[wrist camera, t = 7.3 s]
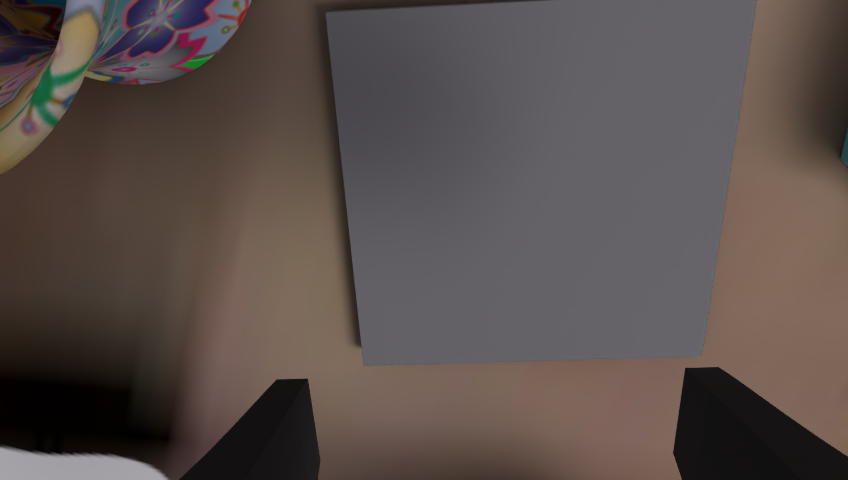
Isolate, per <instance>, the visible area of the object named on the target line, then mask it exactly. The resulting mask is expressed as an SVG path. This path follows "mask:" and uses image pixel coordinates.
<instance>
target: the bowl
mask: <svg viewBox="0 0 848 480" xmlns="http://www.w3.org/2000/svg"><path fill="white" fill-rule="evenodd" d="M840 160H841V161H842V162H843V163H844V164H845V165H846V166H847V167H848V128H847V132H846V137H845V141H844V146H843V150H842V154H841V159H840Z"/></svg>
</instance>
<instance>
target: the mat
mask: <svg viewBox="0 0 848 480" xmlns="http://www.w3.org/2000/svg"><path fill="white" fill-rule="evenodd" d="M756 3H757V0H516V1H497V2H479V3H460V4H441V5H423V6H404V7H385V8H366V9H348V10H331V11H328V12H325V14H326V23H327V33H328V42H329V51H330V60H331V69H332V79H333V88H334V97H335V106H336V116H337V125H338V134H339V143H340V152H341V162H342V171H343V180H344V189H345V199H346V208H347V217H348V226H349V236H350V245H351V254H352V263H353V272H354V282H355V291H356V300H357V309H358V319H359V328H360V337H361V346H362V356H363V365H364V366H381V365H416V364H451V363H486V362H520V361H555V360H590V359H624V358H659V357H694V356H702V352H703V346H704V339H705V333H706V327H707V320H708V314H709V307H710V301H711V294H712V288H713V281H714V275H715V268H716V262H717V255H718V249H719V243H720V236H721V230H722V223H723V217H724V210H725V204H726V197H727V191H728V184H729V178H730V171H731V165H732V159H733V152H734V146H735V139H736V133H737V126H738V120H739V113H740V107H741V100H742V94H743V87H744V81H745V74H746V68H747V62H748V55H749V49H750V42H751V36H752V29H753V23H754V16H755V10H756Z"/></svg>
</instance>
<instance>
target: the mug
mask: <svg viewBox="0 0 848 480" xmlns="http://www.w3.org/2000/svg"><path fill="white" fill-rule="evenodd" d="M251 1H252V0H0V175H2V174H3V173H5V172H6V171H8V170H10V169H11V168H13V167H14V166H16V165H17V164H18V163H19V162H20V161H22V160H23V159H24V158H25V157H26V156H28V155H29V154H30V153H31V152H32V151H34V150H35V149H36V147H37V146H38V145H39V144H40V143H41V142H42V141H43V140H44V139H45V138H46V137H47V136H48V135H49V134H50V132H51V131H52V130H53V129H54V127H55V126H56V124H57V123H58V122H59V120H60V119H61V117H62V116H63V115H64V113H65V112H66V111H67V109H68V108H69V106H70V104H71V102H72V101H73V99H74V97H75V95H76V93H77V91H78V90H79V88H80V86H81V84H82V82H83V79H84V77H85V76H86V77H89V78H93V79H96V80H100V81H106V82H111V83H117V84H129V85H136V84H151V83H159V82H163V81H167V80H171V79H174V78H177V77H180V76H183V75H185V74H187V73H189V72H191V71H193V70H195V69H197V68H198V67H200V66H202V65H203V64H205V63H206V62H208V61H209V60H210V59H211V58H213V57H214V56H215V55H216V54H217V53H218V52H219V51H220V50H221V49H222V48H223V47H224V46H225V45H226V44H227V43H228V42H229V40H230V39H231V38H232V37H233V35H234V34H235V33H236V31H237V29H238V28H239V26H240V25H241V23H242V21H243V19H244V17H245V15H246V13H247V11H248V9H249V7H250V4H251Z"/></svg>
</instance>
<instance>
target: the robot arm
mask: <svg viewBox="0 0 848 480" xmlns="http://www.w3.org/2000/svg"><path fill="white" fill-rule="evenodd" d="M673 454H674V457H675V460H676V463H677V466H678V469H679V472H680V475H681V478H682V480H848V457H847V456H846V455H844V454H843V453H841V452H840V451H838V450H837V449H835V448H834V447H832V446H831V445H829V444H828V443H826V442H825V441H823V440H822V439H820V438H819V437H817V436H816V435H814V434H813V433H811V432H810V431H809V430H807V429H806V428H804V427H803V426H801V425H800V424H798V423H797V422H796V421H794V420H793V419H791V418H790V417H789V416H787V415H786V414H784V413H783V412H781V411H780V410H779V409H777V408H776V407H774V406H773V405H772V404H770V403H769V402H768V401H766V400H765V399H763V398H762V397H761V396H759V395H758V394H756V393H755V392H754V391H752V390H751V389H749V388H748V387H747V386H745V385H744V384H742V383H741V382H740V381H738V380H737V379H735V378H734V377H732V376H731V375H730V374H728V373H727V372H725V371H723V370H722V369H720V368H719V367H707V368H685V374H684V381H683V388H682V395H681V402H680V409H679V416H678V423H677V430H676V437H675V444H674V451H673ZM319 466H320V455H319V449H318V442H317V436H316V429H315V423H314V416H313V410H312V403H311V397H310V390H309V384H308V379H280V380H276V381H275V382H274V383H273V384H272V385H271V386H270V387H269V388H268V389H267V390H266V391H265V392H264V393H263V395H262V396H261V397H260V398H259V399H258V400H257V401H256V402H255V403H254V404H253V405H252V406H251V408H250V409H249V410H248V411H247V412H246V413H245V414H244V415H243V416H242V417H241V418H240V419H239V421H238V422H237V423H236V424H235V425H234V426H233V427H232V428H231V429H230V430H229V431H228V432H227V433H226V434H225V435H224V436H223V437H222V438H221V439H220V440H219V441H218V442H217V443H216V444H215V446H214V447H213V448H212V449H211V450H210V451H209V452H208V453H207V454H206V455H205V456H204V457H203V458H202V459H201V460H200V461H198V462H197V463H196V464H195V465H194V466H193V467H192V468H191V469H190V470H189V471H188V472H187V473H186V474H185V475H184V476H183V477H181V478H180V479H179V480H318V473H319Z"/></svg>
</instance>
